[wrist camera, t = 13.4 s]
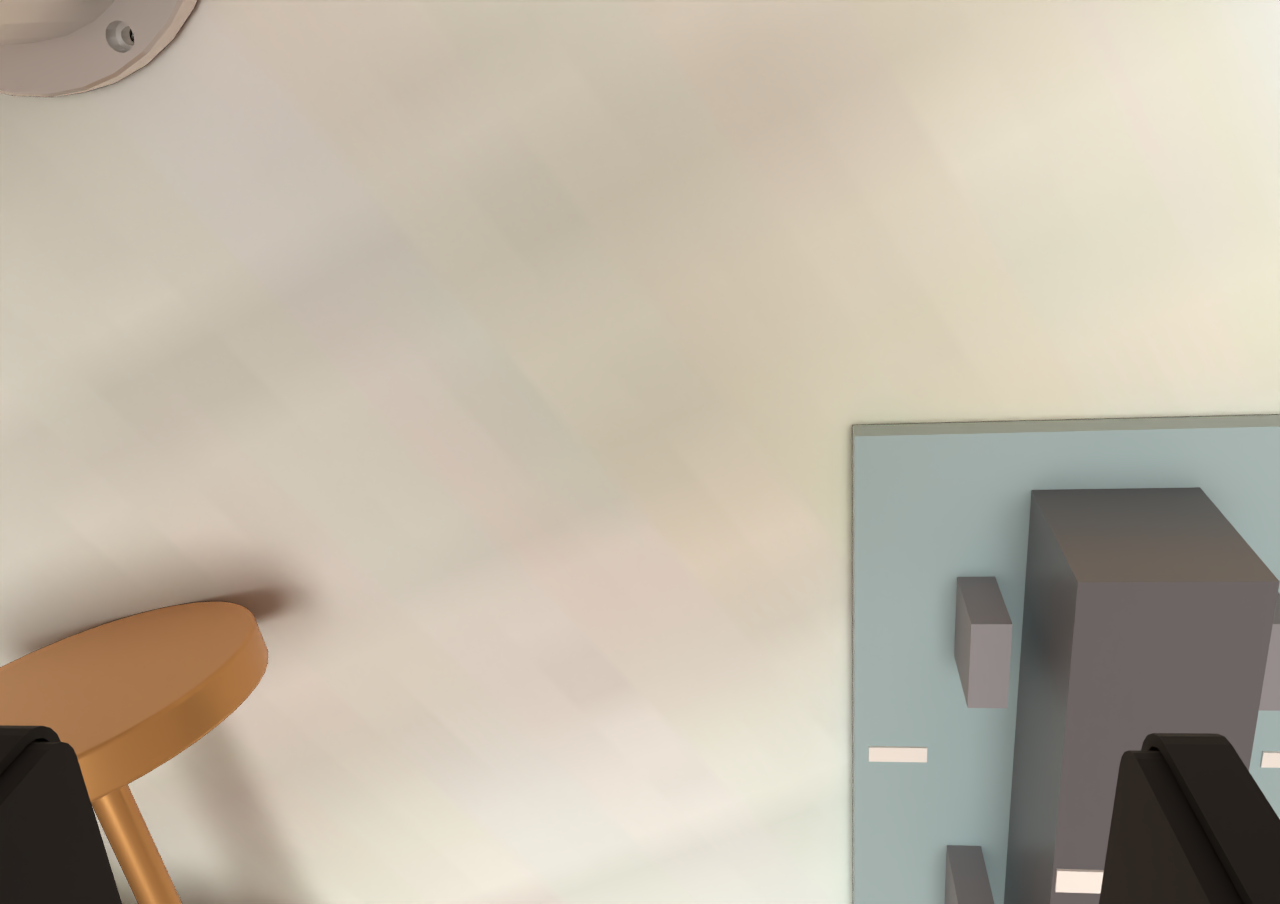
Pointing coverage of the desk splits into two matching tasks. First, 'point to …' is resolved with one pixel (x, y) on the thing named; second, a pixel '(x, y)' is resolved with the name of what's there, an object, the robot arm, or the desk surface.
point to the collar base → (996, 619)
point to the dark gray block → (1123, 663)
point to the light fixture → (137, 708)
